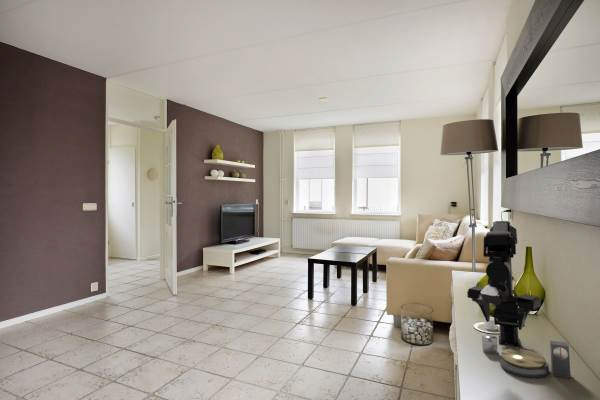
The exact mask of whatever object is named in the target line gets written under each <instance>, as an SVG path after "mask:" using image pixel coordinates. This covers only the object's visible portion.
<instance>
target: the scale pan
mask: <svg viewBox="0 0 600 400" xmlns="http://www.w3.org/2000/svg"><path fill="white" fill-rule="evenodd" d="M501 355H502V358H503V360H505V361H506V362H508V363H510V364H512V365H515V366H518V367H523V368H530V369H537V368H542V367H544V366H545V365H546V362H547V360H546V358H545V356H543V355H542V354H540V353H538V352H535V351H532V350H527V349H522V348H506V349H504V350H502V352H501Z"/></svg>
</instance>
